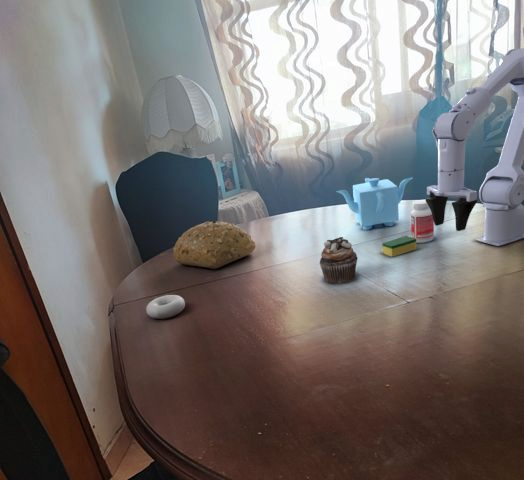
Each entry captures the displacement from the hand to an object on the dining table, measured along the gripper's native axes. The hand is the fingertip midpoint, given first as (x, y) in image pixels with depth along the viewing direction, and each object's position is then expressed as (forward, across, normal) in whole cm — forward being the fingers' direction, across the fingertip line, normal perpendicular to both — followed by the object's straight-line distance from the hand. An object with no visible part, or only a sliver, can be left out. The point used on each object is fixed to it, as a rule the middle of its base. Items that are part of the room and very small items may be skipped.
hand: (449, 227), depth 114 cm
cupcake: (+9, -10, -26) cm, 29 cm away
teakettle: (+9, -45, +8) cm, 47 cm away
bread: (+9, -55, -47) cm, 73 cm away
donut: (+9, -22, -70) cm, 74 cm away
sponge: (+8, -15, -4) cm, 18 cm away
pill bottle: (+9, -18, +6) cm, 21 cm away
